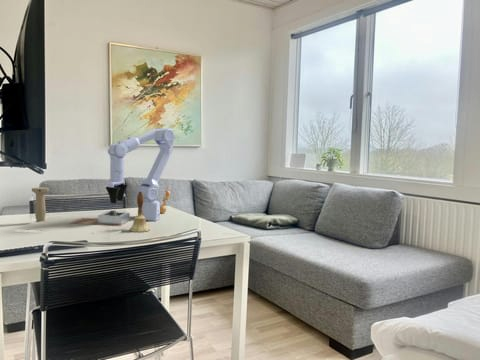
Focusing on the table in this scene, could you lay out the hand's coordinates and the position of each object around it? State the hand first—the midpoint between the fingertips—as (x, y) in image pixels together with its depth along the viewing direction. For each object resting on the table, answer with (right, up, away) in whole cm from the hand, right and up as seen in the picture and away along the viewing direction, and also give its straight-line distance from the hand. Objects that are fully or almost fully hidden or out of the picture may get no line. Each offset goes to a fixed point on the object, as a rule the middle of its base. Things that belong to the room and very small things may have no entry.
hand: (116, 201), depth 176 cm
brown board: (-6, -10, -3) cm, 12 cm away
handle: (-31, -9, -6) cm, 33 cm away
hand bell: (+13, -11, -11) cm, 20 cm away
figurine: (+15, -8, +30) cm, 34 cm away
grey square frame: (0, -9, -2) cm, 9 cm away
